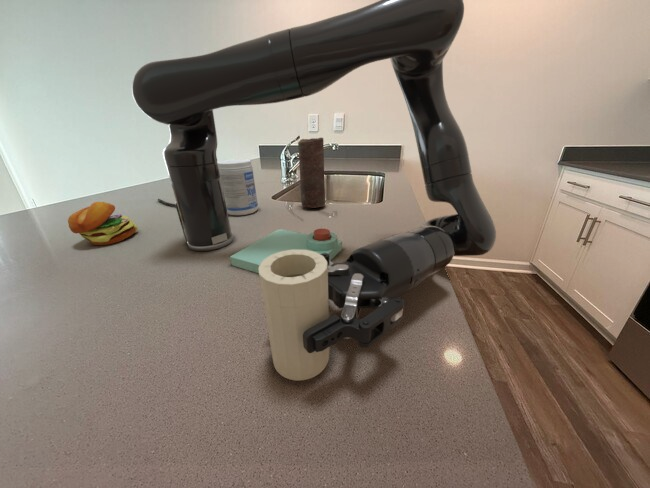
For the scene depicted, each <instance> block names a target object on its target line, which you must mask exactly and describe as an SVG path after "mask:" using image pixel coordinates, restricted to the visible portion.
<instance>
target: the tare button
mask: <svg viewBox="0 0 650 488" xmlns="http://www.w3.org/2000/svg"><path fill="white" fill-rule="evenodd" d="M313 232H314V240H318V241H326V240H329V239H330V232H331V230H330V229H328V228H317V229H314V230H313Z"/></svg>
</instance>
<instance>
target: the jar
mask: <svg viewBox="0 0 650 488" xmlns="http://www.w3.org/2000/svg"><path fill="white" fill-rule="evenodd" d="M258 270H259V273H258V276H259V282H260V288H261V294H262V300H263V301H262V302H263V307H264V313H265V319H266V327H267V333H268V339H269V344H270V351H271V358H272V363H273V367H274V368H275V370H276V373H278V374H279V375H280V376H282V377H283V378H285V379H287V380H291V381H297V382H298V381H299V382H300V381H301V382H302V381H307V380H310V379H313V378H315V377H316V376H318V375H319V374H321V373H322V372H324V370H325V368H326V367H327V365H328V363H329V361H330V347H331V346H330V347H328V348H326V349H325V350H323V351H320V352H316V351H314V352H312V353H308V352H307V351H306V349H305V348H304V346H303V333H304V332H305V331H306V330H307V329H309V328H311V327H313V326H315V325H317V324H319V323H320V322H322V321H324V320H326V319H328V318H330V311H329V310H330V309H329V308H330V306H329V304H330V303H329V299H328V263H327V261H326V259H325V258H324V256H322V255H320V254H319V253H317V252H314V251H309V250H287V251H281V252H278V253H275V254H272V255H270V256H269V257H267V258H266V259H264V260H263V261H262V263H261V264H260V266H259V268H258Z"/></svg>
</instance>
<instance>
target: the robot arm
mask: <svg viewBox="0 0 650 488" xmlns="http://www.w3.org/2000/svg"><path fill="white" fill-rule="evenodd" d="M464 15H465V3H464V0H378V1H375V2H373V3H370V4H368V5H365V6H363V7H361V8H357V9H355V10H352V11H348V12H345V13H342V14H338V15H334V16H331V17H328V18H324V19H321V20H318V21H315V22H311V23H307V24H303V25H298V26H294V27H289V28H286V29H282V30H278V31H275V32H272V33H268V34H265V35H262V36H259V37H256V38H252V39H249V40H246V41H242V42H239V43H236V44H233V45H230V46H227V47H224V48H221V49H219V50H216V51H213V52H209V53H205V54H201V55H195V56H189V57H181V58H174V59H173V58H172V59H164V60H163V59H162V60H155V61H150V62H148V63H146V64H144V65H142V66H141V67H140V68H139V69H138V70H137V71H136V72H135V74H134V76H133V80H132V83H131V94H132V98H133V100H134V102H135V104H136V106H137V107H138V108H139V109H140V110H141V112H143V114H145V115H146V116H148V118H150V119H152V120H153V121H155V122H157V123H160V124H164V125H166V126H168V129H169V134H170V137H169V142H168V143H167V145H166V146H165V147H164V149H163V151H162V156H163V161H164V165H165V167H166V170H167V174H168V178H169V181H170V183H171V188H172V191H173V195H174V199H175V203H170V202H167V201H164V200H163V199H160V198H157V202H160V203H161V204H164V205H167V206H171V207H175V208H176V213H177V216H178V219H179V223H180V226H181V230H182V233H183V238H184V240H185V243H186V245H187V247H188V249H189V250H191V251H195V252H210V251H214V250H219V249H222V248H225V247H226V246H229V245H230V244H231V243H233V241H234V235H233V233H232V229H231V223H230V219H229V214H228V212H227V207H226V202H225V197H224V192H223V187H222V182H221V177H220V172H219V167H218V162H219V161H218V157H217V151H218V150H217V149H218V136H217V128H216V121H215V116H214V110H217V109H220V108H227V107H235V106H236V107H237V106H257V105H259V106H260V105H270V104H277V103H283V102H289V101H292V100H296V99H297V100H298V99H301V98H305V97H306V98H307V97H310V96H312V95H315V94H317V93H320V92H322V91H324V90H326V89H327V88H329V87H331V86H332V85H333V84H335V83H336V82H338V81H339V80H341V79H342V78H344V77H345V76H347V75H348V74H350V73H351V72H353V71H355V70H357V69H359V68H361V67H363V66H366V65H369V64H371V63H376V62H379V61H385V60H388V59H389V60H390V63H391V66H392V68H393V72H394V74H395V77H396V80H397V82H398V85H399V87H400V90H401V92H402V93H401V94H402V95H403V98H404V101H405V104H406V106H407V111H408V114H409V116H410V121H411V124H412V128H413V132H414V138H415V141H416V147H417V152H418V156H419V163H420V167H421V172H422V177H423V183H424V187H425V193H426V195H427V198H428V200H429V201H430V202H433V203H446V204H450V206H451V207H452V208H453V209H454V211H455V212H456V213H453V214H447V215H441V216H437V217H433V218H431V219H428V220H426V221H425V222H423V223H422V224H421V225H420V226H418V227H417V228H413V229H410V230H408V231H406V232H402V233H397V234H394V235H390V236H388V237H385V238H382V239H380V240H377V241H375V242H371V243H369V244H367V245H363V246H361V247H359V248H356V249H355V250H354V251H353V252H352V253H351V254H350V255H349V256H348V259H346V260H345V261H342V262H333V261H331V260H329V254H328V253H323V254H320V255H322V256H324V258H325V259H326V261H327V263H328V300H329V301H332V302H333V304H334V305H335V306H336V307H337V308H338V309H341V313H340V317H339V315H337V314H334V315H332V316H329V318H328V319H326V320H324V321H322V322H320V323H319V324H317V325H315V326H313V327H311V328H309V329H307V330H306V331H305V332H304V333H303V346H304V348H305V349H306V351H307V352H308V353H312V352H314V351H316V352H320V351H323V350H325V349H326V348H328V347H332V346H334V345H335V344H336V343H338V342H340V341H341V340H343V339H344V340H350V339H352V340H355V341H357V344H358V346H359V347H361V348H365V349H366V348H370V346H372V345H373V344H375V343H376V342H377V341H378V340H380V339H382V337H384V336H385V335H386V334H387V333H389V332H390V331H392V330H393V329H394V328H395V327H397V326H398V325H399V324H401V323H402V320H403V314H404V306H405V300H404V299H403V298H402V297H400V296H401V295H403V294H405V293H408V291H410V290H411V289H413V288H416V287H417V286H418V285H420V284H421V283H423V282H424V281H425V280H426V279H427V278H429V277H431V276H432V275H434V274H436V273H438V272H440V271H442V270H443V269H445V267H447V266H448V265H449V264H450V263H451V262H452V260H453V259H454V257H477V256H483V255H486V254H488V253H489V252H490V251H491V250H492V249H493V248H494V246H495V243H496V240H497V229H496V224H495V222H494V220H493V218H492V216H491V214H490V212H489V211H488V209H487V207H486V205H485V203H484V201H483V199H482V197H481V195H480V193H479V191H478V189H477V187H476V185H475V181H474V177H473V172H472V167H471V161H470V156H469V155H470V154H469V149H468V146H467V142H466V139H465V136H464V134H463V131H462V129H461V127H460V125H459V123H458V121H457V120H456V117H454V114H453V112H452V110H451V108H450V106H449V103H448V100H447V97H446V92H445V87H444V68H443V67H444V59H445V57H446V55H447V53H448V52H449V50H450V48H451V47H452V45H453V43H454V41H455V39H456V37H457V35H458V33H459V31H460V29H461V26H462V23H463V21H464V20H463V19H464ZM368 309H370V310H371V309H374V310H373V311H371V312H369V313H368V314H367V315H365V316H364V317H362V318H361V319H360V318H359V317H360V314H361V310H368Z"/></svg>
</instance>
